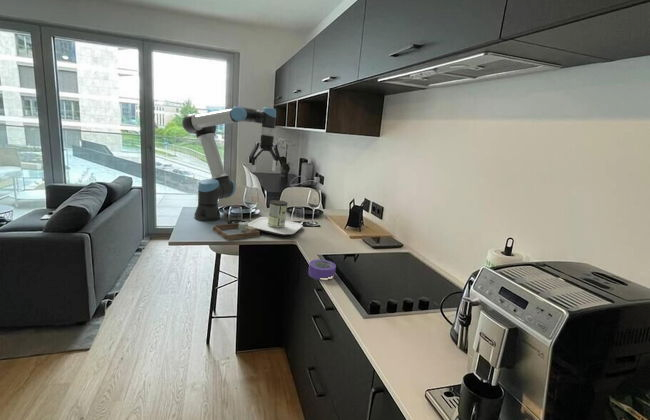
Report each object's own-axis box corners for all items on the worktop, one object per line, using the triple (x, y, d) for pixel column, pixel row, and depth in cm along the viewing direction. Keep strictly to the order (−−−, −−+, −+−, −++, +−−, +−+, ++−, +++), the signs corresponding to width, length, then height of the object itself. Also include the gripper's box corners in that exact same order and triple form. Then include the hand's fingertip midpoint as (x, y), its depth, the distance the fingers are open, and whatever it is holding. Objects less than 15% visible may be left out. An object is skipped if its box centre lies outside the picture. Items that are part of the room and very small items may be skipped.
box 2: (244, 233, 189) (245, 227, 188) (250, 232, 192) (250, 226, 191) (249, 235, 186) (249, 229, 185) (254, 234, 189) (255, 227, 188)
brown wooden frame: (212, 229, 188) (213, 225, 188) (243, 226, 201) (244, 222, 200) (227, 240, 176) (227, 235, 175) (259, 235, 188) (259, 231, 188)
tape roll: (307, 268, 154) (308, 258, 153) (332, 270, 155) (334, 260, 154) (308, 279, 142) (310, 268, 141) (336, 281, 144) (337, 271, 143)
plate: (242, 228, 192) (242, 224, 192) (263, 218, 220) (263, 215, 220) (289, 239, 187) (290, 235, 186) (305, 227, 214) (305, 224, 214)
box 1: (238, 229, 195) (238, 222, 194) (244, 228, 198) (245, 222, 197) (240, 231, 192) (241, 224, 191) (247, 230, 194) (247, 224, 193)
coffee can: (270, 221, 208) (273, 199, 205) (286, 224, 207) (289, 202, 204) (264, 225, 198) (267, 201, 195) (281, 228, 197) (284, 205, 194)
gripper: (251, 133, 188) (248, 171, 193) (288, 137, 204) (284, 172, 209) (245, 132, 193) (242, 169, 198) (281, 136, 209) (278, 170, 214)
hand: (263, 170), depth 204 cm, fingers open, 13 cm apart
